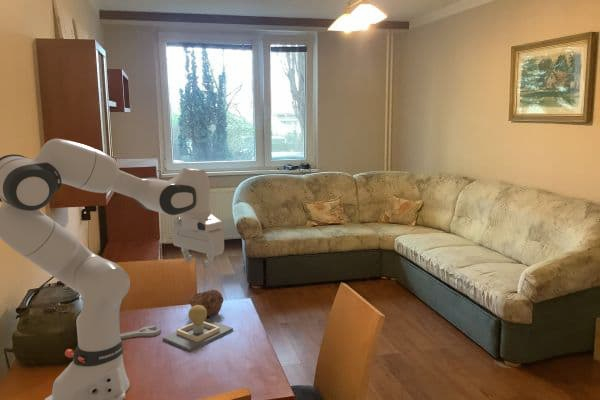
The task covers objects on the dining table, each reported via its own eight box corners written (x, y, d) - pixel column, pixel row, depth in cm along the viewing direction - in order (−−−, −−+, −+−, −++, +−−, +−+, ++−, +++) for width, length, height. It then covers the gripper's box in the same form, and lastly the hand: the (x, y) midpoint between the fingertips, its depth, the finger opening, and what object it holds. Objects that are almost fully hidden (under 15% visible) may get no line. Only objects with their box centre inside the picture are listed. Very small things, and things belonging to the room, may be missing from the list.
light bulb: (205, 336, 177) (204, 309, 175) (187, 336, 177) (186, 309, 175) (209, 328, 183) (208, 302, 182) (191, 328, 183) (190, 302, 182)
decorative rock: (221, 307, 205) (220, 283, 203) (226, 318, 195) (225, 293, 193) (188, 311, 201) (187, 287, 199) (191, 323, 191) (190, 297, 189)
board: (189, 351, 168) (189, 344, 168) (162, 340, 177) (162, 333, 176) (233, 330, 184) (232, 324, 184) (206, 320, 192) (206, 314, 192)
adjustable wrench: (84, 347, 173) (83, 342, 173) (85, 339, 179) (84, 334, 179) (160, 335, 181) (160, 331, 181) (159, 328, 187) (159, 323, 187)
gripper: (166, 217, 161) (168, 260, 163) (211, 227, 148) (212, 272, 151) (182, 214, 165) (184, 255, 168) (227, 223, 153) (228, 267, 156)
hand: (198, 264), depth 159 cm, fingers open, 8 cm apart
